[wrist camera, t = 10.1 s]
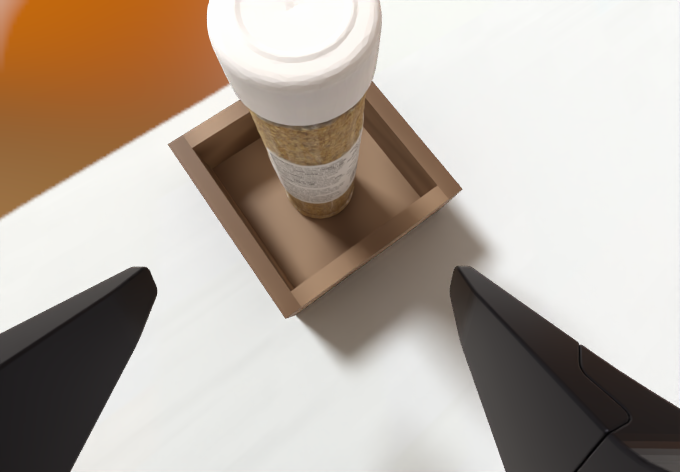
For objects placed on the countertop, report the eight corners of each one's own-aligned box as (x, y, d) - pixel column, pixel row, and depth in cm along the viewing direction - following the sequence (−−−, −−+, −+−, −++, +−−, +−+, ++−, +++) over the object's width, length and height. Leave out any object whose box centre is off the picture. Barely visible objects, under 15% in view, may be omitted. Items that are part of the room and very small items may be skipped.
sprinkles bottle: (300, 146, 22) (245, -90, 9) (364, 168, 21) (408, -41, 8) (274, 207, 21) (169, 50, 8) (341, 231, 21) (348, 110, 7)
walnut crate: (295, 315, 21) (285, 318, 17) (197, 171, 22) (167, 144, 18) (440, 208, 22) (462, 189, 18) (337, 82, 24) (337, 39, 20)
